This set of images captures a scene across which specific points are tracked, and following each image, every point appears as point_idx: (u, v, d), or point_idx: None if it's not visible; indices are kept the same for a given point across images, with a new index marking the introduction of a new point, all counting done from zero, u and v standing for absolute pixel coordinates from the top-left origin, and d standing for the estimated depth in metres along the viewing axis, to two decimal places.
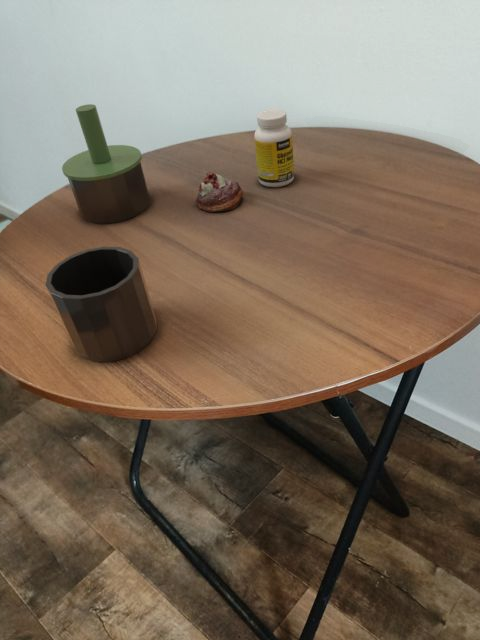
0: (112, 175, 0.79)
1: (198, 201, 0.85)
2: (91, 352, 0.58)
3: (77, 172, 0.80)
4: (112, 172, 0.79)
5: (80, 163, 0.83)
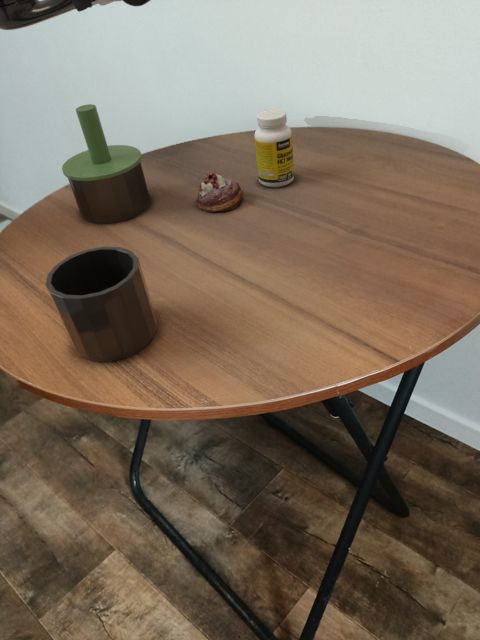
0: (112, 175, 0.79)
1: (198, 201, 0.85)
2: (91, 352, 0.58)
3: (77, 172, 0.80)
4: (112, 172, 0.79)
5: (80, 163, 0.83)
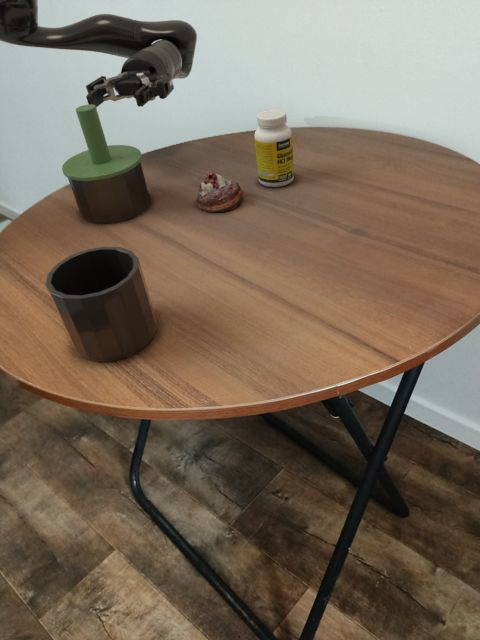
0: (112, 175, 0.79)
1: (198, 201, 0.85)
2: (91, 352, 0.58)
3: (77, 172, 0.80)
4: (112, 172, 0.79)
5: (80, 163, 0.83)
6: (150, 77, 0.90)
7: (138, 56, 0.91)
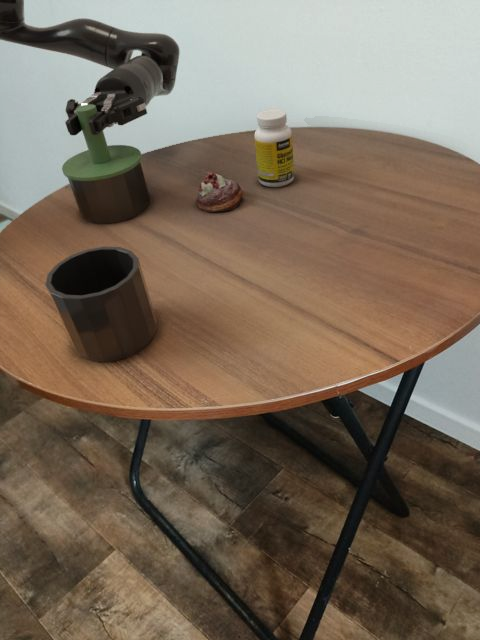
0: (112, 175, 0.79)
1: (198, 201, 0.85)
2: (91, 352, 0.58)
3: (77, 172, 0.80)
4: (112, 172, 0.79)
5: (80, 163, 0.83)
6: (125, 98, 0.83)
7: (112, 75, 0.84)
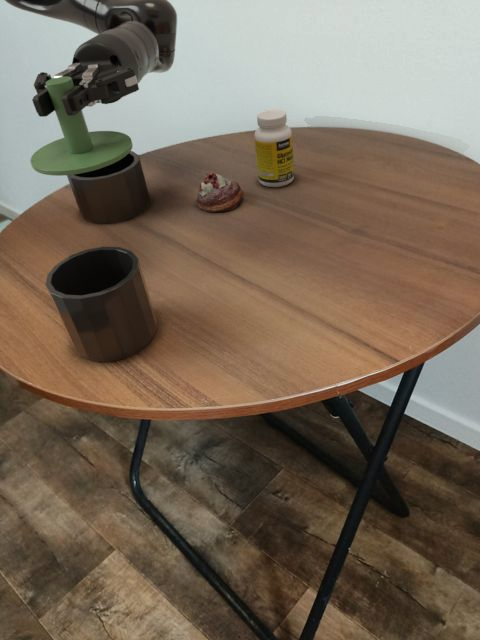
0: (94, 168, 0.61)
1: (198, 201, 0.85)
2: (91, 352, 0.58)
3: (49, 164, 0.62)
4: (94, 164, 0.61)
5: (54, 153, 0.65)
6: (111, 70, 0.65)
7: (95, 41, 0.66)
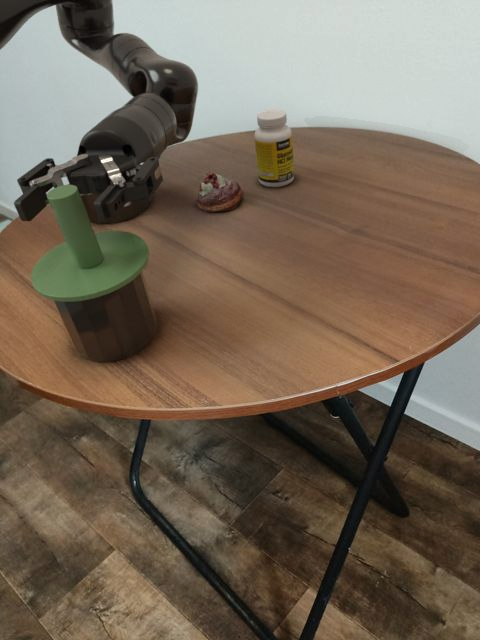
0: (105, 292, 0.52)
1: (198, 201, 0.85)
2: (91, 352, 0.58)
3: (53, 286, 0.53)
4: (105, 288, 0.52)
5: (58, 266, 0.56)
6: (124, 164, 0.55)
7: (105, 128, 0.56)
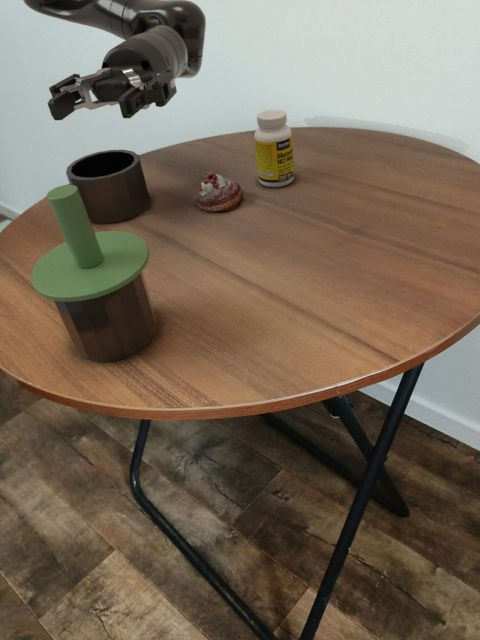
0: (105, 292, 0.52)
1: (198, 201, 0.85)
2: (91, 352, 0.58)
3: (53, 286, 0.53)
4: (105, 288, 0.52)
5: (58, 266, 0.56)
6: (142, 75, 0.62)
7: (126, 45, 0.64)
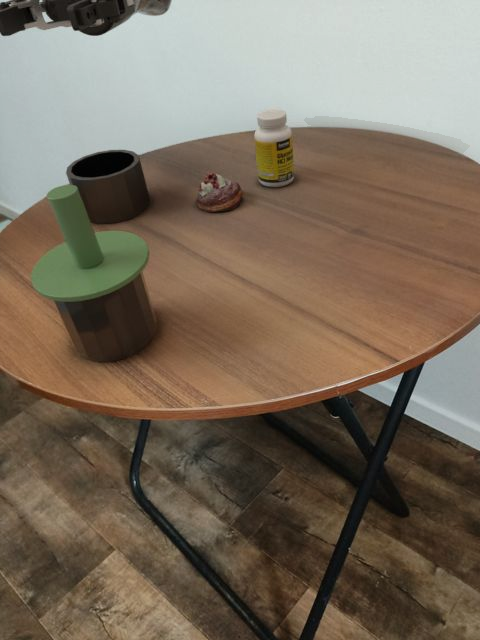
0: (105, 292, 0.52)
1: (198, 201, 0.85)
2: (91, 352, 0.58)
3: (53, 286, 0.53)
4: (105, 288, 0.52)
5: (58, 266, 0.56)
6: None
7: None
